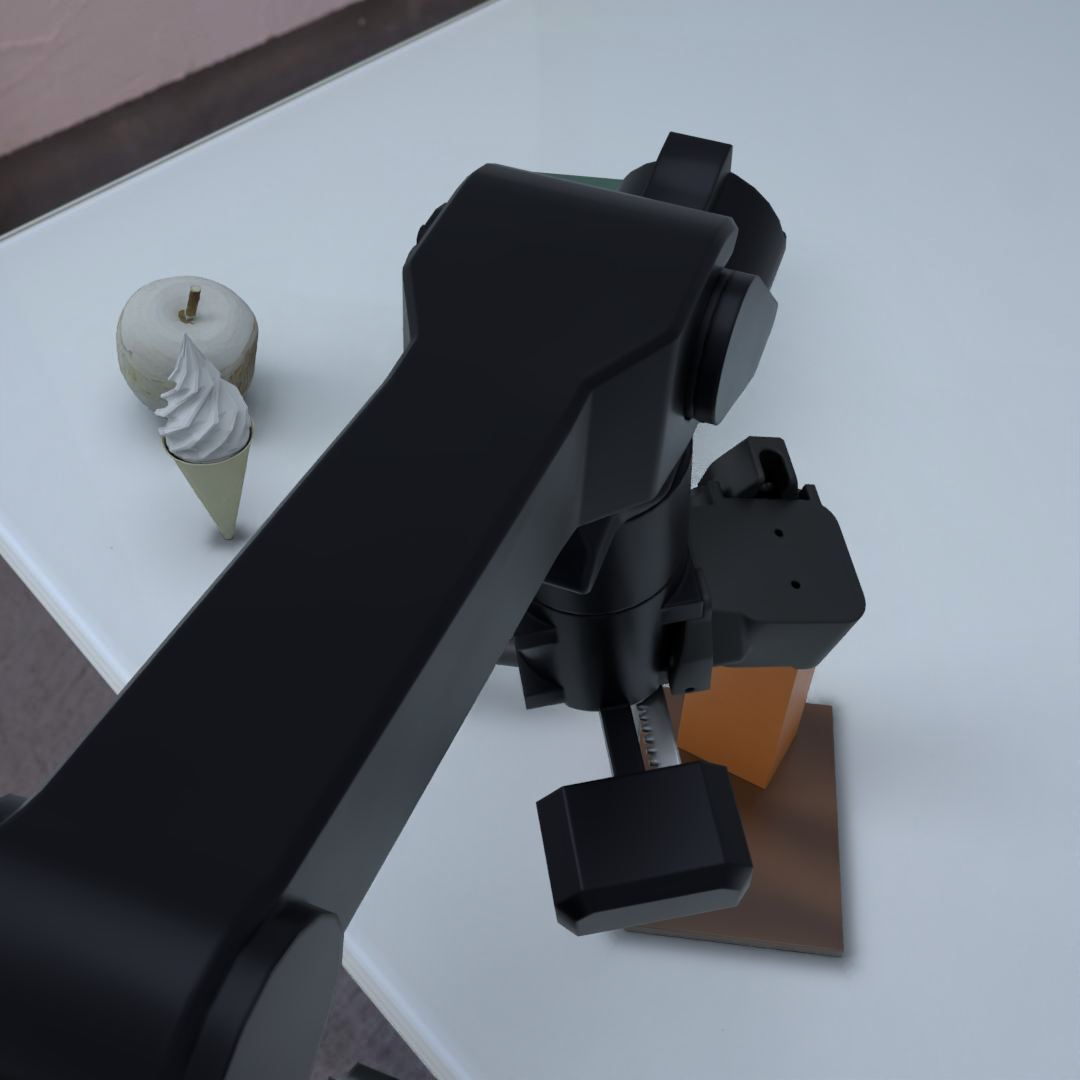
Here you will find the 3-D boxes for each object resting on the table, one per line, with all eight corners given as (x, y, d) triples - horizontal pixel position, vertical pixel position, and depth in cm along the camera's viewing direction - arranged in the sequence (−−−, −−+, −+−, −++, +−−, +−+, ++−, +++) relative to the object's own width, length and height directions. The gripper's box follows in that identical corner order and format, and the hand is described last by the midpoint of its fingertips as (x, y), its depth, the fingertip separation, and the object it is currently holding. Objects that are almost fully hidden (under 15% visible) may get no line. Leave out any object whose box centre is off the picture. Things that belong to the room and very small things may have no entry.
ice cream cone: (168, 553, 76) (115, 346, 66) (215, 497, 80) (172, 292, 69) (243, 578, 75) (202, 372, 64) (288, 520, 78) (255, 316, 68)
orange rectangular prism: (765, 790, 65) (803, 650, 58) (675, 746, 67) (700, 605, 59) (796, 734, 68) (837, 592, 60) (709, 693, 70) (737, 550, 62)
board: (841, 957, 60) (844, 951, 60) (623, 930, 61) (624, 924, 60) (830, 712, 70) (832, 705, 69) (642, 691, 70) (643, 684, 70)
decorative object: (141, 368, 88) (110, 240, 81) (273, 364, 89) (254, 237, 82) (124, 457, 82) (89, 327, 75) (266, 451, 83) (245, 322, 75)
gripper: (963, 772, 34) (874, 938, 47) (774, 262, 44) (744, 516, 57) (543, 851, 34) (571, 996, 47) (448, 319, 44) (493, 562, 57)
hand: (605, 744), depth 52 cm, fingers open, 9 cm apart
